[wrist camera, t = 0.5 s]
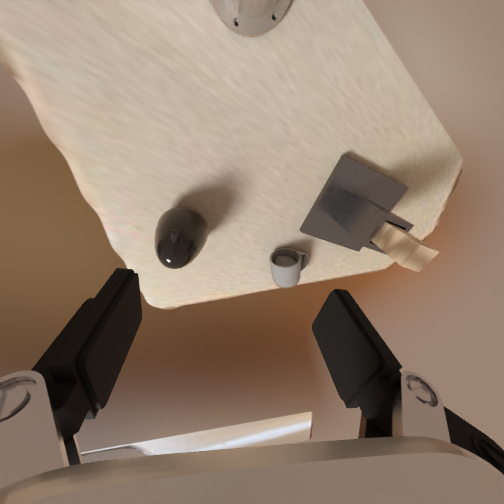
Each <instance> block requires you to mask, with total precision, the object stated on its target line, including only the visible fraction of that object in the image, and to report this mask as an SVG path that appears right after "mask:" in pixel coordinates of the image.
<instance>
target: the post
mask: <svg viewBox="0 0 504 504" xmlns="http://www.w3.org/2000/svg"><path fill="white" fill-rule="evenodd" d="M371 241H372V242H373V243H374V244H376V245H377V246H378V247H379V248H380V249H382V250H383V251H384V252H385V253H386V254H388V255H389V256H390V257H391V258H392V259H394V260H395V261H396V262H397V263H398V264H400V265H401V266H403V267H406V268H409V269H412V270H415V271H418V272H420V270H422V269H423V268H424V267H425V266H426V265H427V264H428V263H429V262H430V261H431V260H432V259H433V258H434V257H435V256H436V255H437V254H438V253H439V252H438V251H437V250H435V249H434V248H432V247H430V246H429V245H427V244H426V243H424V242H422V241H421V240H419V239H418V238H416V237H414V236H413V235H411V234H410V233H408V232H406V231H405V230H403V229H402V228H400V227H398V226H397V225H395V224H394V223H392V222H390V221H388V220H387V221H386V222H385V223H384V225H383V226H382V227H381V228H380V230H379V231H378V232H377V233H376V235H375V236H374V237H373V238H372V240H371Z"/></svg>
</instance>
